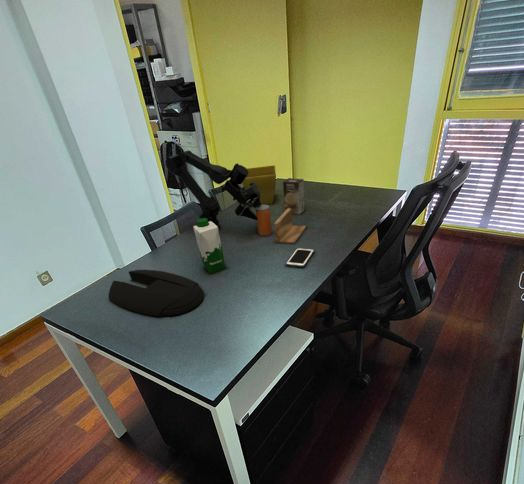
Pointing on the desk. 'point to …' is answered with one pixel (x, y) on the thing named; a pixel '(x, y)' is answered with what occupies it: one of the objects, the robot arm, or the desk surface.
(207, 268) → the milk carton
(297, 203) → the coffee box
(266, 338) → the desk surface
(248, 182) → the cardboard box
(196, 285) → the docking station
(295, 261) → the cell phone
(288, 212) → the wooden bookend
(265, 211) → the tin can
